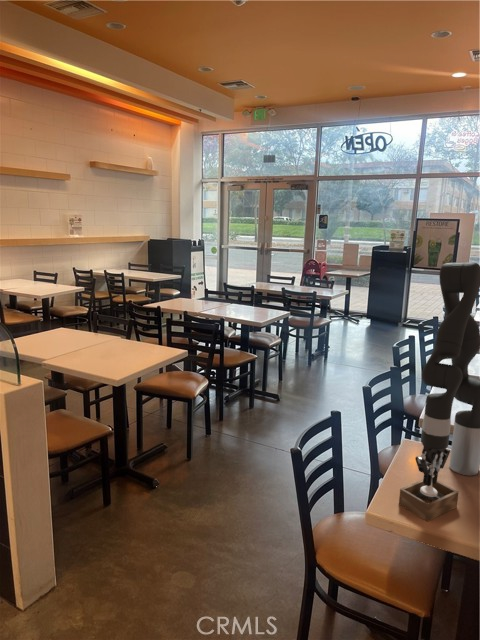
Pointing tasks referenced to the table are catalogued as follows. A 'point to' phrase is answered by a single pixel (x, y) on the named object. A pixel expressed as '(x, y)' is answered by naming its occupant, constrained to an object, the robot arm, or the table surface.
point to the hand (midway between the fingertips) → (429, 483)
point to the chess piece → (429, 488)
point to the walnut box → (440, 504)
